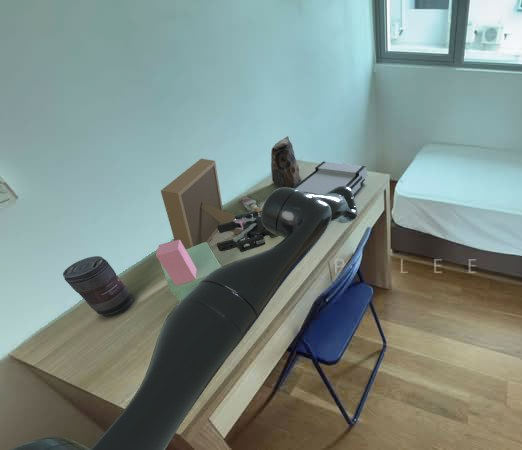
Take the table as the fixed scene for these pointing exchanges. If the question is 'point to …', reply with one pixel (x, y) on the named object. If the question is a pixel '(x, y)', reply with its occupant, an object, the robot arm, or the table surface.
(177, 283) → the pink box
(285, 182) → the owl
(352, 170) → the game console
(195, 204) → the photo frame
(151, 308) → the table surface
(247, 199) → the paintbrush
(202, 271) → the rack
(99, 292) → the camera lens
